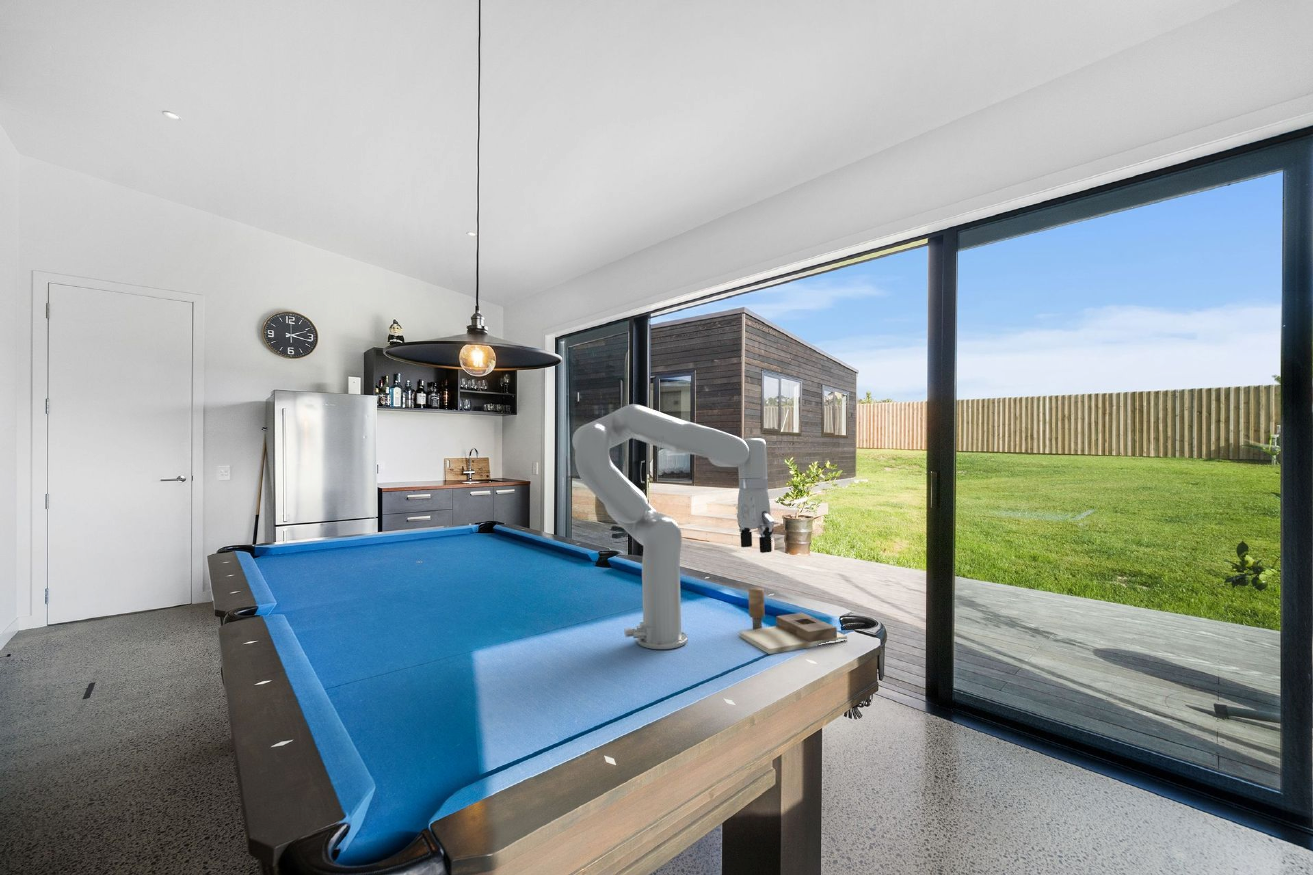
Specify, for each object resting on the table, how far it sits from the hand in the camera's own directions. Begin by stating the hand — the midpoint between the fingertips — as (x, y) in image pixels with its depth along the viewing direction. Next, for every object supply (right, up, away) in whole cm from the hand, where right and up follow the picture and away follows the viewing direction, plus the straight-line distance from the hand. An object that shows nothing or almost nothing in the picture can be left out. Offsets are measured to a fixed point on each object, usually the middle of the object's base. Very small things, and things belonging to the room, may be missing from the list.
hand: (755, 549), depth 146 cm
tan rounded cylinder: (0, -21, -1) cm, 21 cm away
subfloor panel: (+7, -20, -9) cm, 23 cm away
